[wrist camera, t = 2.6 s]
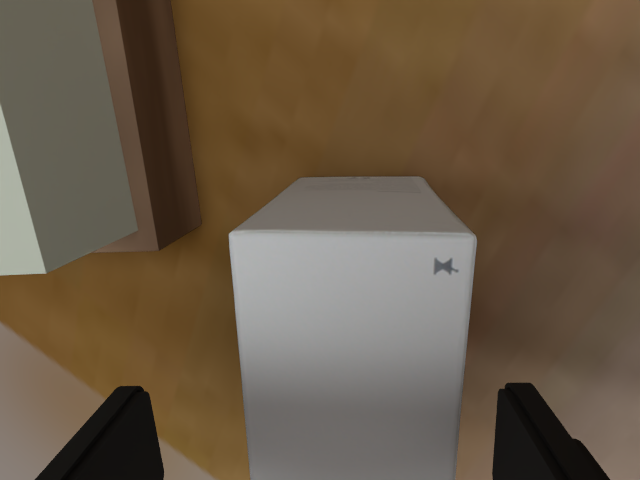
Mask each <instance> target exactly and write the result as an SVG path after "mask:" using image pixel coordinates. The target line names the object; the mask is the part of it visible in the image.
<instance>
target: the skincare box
mask: <svg viewBox="0 0 640 480" xmlns="http://www.w3.org/2000/svg"><path fill="white" fill-rule="evenodd" d="M476 246H477V239H476V235H475V234H474V233H473V232H472V231H471V230H470V229H469V228H468V227H467V226H466V225H465V224H464V223H463V222H462V221H461V220H460V219H459V218H458V217H457V216H456V215H455V214H454V213H453V212H452V211H451V210H450V209H449V208H448V207H447V206H446V204H445V203H444V202H443V201H442V200H441V199H440V198H439V197H438V196H437V195H436V194H435V192H434V191H433V190H432V189H431V187H430V186H429V185H428V184H427V182H426V181H425V179H424V178H422V177H418V176H415V177H305V178H299V179H297V180H296V181H295V182H294V183H293V184H291V185H290V186H289V187H288V188H286V189H285V190H284V191H283V192H281V193H280V194H279V195H278V196H276V197H275V198H274V199H273V200H272V201H270V202H269V203H268V204H267V205H265V206H264V207H263V208H262V209H260V210H259V211H258V212H256V213H255V214H254V215H252V216H251V217H250V218H249V219H247V220H246V221H245V222H243V223H242V224H241V225H240V226H238V227H237V228H235V229H234V230H233V231H232V232H230V233H229V247H230V258H231V268H232V279H233V290H234V301H235V313H236V323H237V335H238V346H239V356H240V366H241V377H242V390H243V402H244V413H245V423H246V434H247V446H248V457H249V468H250V478H251V480H455V476H456V463H457V451H458V438H459V425H460V414H461V403H462V392H463V381H464V370H465V359H466V349H467V338H468V328H469V318H470V307H471V297H472V286H473V276H474V265H475V256H476Z"/></svg>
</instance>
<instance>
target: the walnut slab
mask: <svg viewBox="0 0 640 480" xmlns="http://www.w3.org/2000/svg"><path fill="white" fill-rule="evenodd" d="M92 2H93V7H94V12H95V17H96V22H97V27H98V32H99V37H100V42H101V47H102V52H103V57H104V62H105V67H106V72H107V77H108V82H109V87H110V92H111V97H112V102H113V107H114V112H115V117H116V122H117V127H118V132H119V137H120V142H121V147H122V152H123V157H124V162H125V167H126V172H127V177H128V182H129V187H130V192H131V197H132V202H133V207H134V212H135V217H136V222H137V227H138V231H136V232H134V233H132V234H129V235H127V236H125V237H123V238H121V239H119V240H117V241H114V242H112V243H110V244H108V245H106V246H104V247H102V248H99V249H97V250H95V251H93V252H91V253H98V252H134V251H159V250H161V249H163V248H164V247H166V246H167V245H169V244H171V243H172V242H174V241H176V240H177V239H179V238H180V237H182V236H184V235H185V234H187V233H189V232H190V231H192V230H193V229H195V228H197V227H198V226H200V225H201V224H202V223H201V215H200V208H199V201H198V194H197V187H196V180H195V173H194V165H193V158H192V151H191V144H190V137H189V130H188V123H187V115H186V108H185V101H184V94H183V87H182V80H181V72H180V65H179V58H178V51H177V44H176V37H175V30H174V22H173V15H172V8H171V1H170V0H92Z"/></svg>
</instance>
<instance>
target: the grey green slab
mask: <svg viewBox="0 0 640 480" xmlns="http://www.w3.org/2000/svg"><path fill="white" fill-rule="evenodd" d="M136 231H138V227H137V222H136V217H135V212H134V207H133V202H132V197H131V192H130V187H129V182H128V177H127V172H126V167H125V162H124V157H123V152H122V147H121V142H120V137H119V132H118V127H117V122H116V117H115V112H114V107H113V102H112V97H111V92H110V87H109V82H108V77H107V72H106V67H105V62H104V57H103V52H102V47H101V42H100V37H99V32H98V27H97V22H96V17H95V12H94V7H93V2H92V0H0V275H18V274H43V273H48V272H50V271H52V270H55V269H57V268H59V267H61V266H63V265H65V264H67V263H69V262H72V261H74V260H76V259H78V258H80V257H82V256H84V255H87V254H89V253H91V252H93V251H95V250H97V249H99V248H102V247H104V246H106V245H108V244H110V243H112V242H114V241H117V240H119V239H121V238H123V237H125V236H127V235H129V234H132V233H134V232H136Z"/></svg>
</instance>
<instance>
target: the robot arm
mask: <svg viewBox="0 0 640 480" xmlns="http://www.w3.org/2000/svg"><path fill="white" fill-rule="evenodd" d="M492 475H493V480H610V479H609V477H608V476H607V475H606V473H605V472H604V471H603V469H602V468H601V467H600V465H599V464H598V463H597V462H596V460H595V459H594V458H593V456H592V455H591V454H590V452H589V451H588V450H587V448H586V447H585V446H584V445H583V444H582V443H581V441H579V440H577V439H572V438H571V436H570V435H569V434H568V432H567V431H566V429H565V428H564V427H563V425H562V424H561V423H560V421H559V420H558V418H557V417H556V416H555V414H554V413H553V412H552V410H551V409H550V407H549V406H548V405H547V403H546V402H545V401H544V399H543V398H542V396H541V395H540V394H539V392H538V391H537V390H536V388H535V387H534V386H533V385H532V384H531V383H507V384H506V385H505V389H499V391H498V400H497V415H496V429H495V443H494V458H493V472H492ZM163 478H164V468H163V463H162V458H161V453H160V447H159V442H158V437H157V432H156V426H155V421H154V416H153V411H152V405H151V400H150V396H149V393H148V392H146V391H145V392H144V389H143V388H142V387H141V386H120V387H118V388H116V389H115V390H114V391H113V393H112V394H111V395H110V396H109V397H108V398H107V399H106V400H105V402H104V403H103V404H102V405H101V406H100V407H99V408H98V410H97V411H96V412H95V413H94V414H93V415H92V416H91V417H90V418H89V420H88V421H87V422H86V423H85V424H84V425H83V426H82V427H81V428H80V430H79V431H78V432H77V433H76V434H75V435H74V436H73V437H72V439H71V440H70V441H69V442H68V443H67V444H66V445H65V446H64V448H63V449H62V450H61V451H60V452H59V453H58V454H57V455H56V456H55V458H54V459H53V460H52V461H51V462H50V463H49V465H48V466H47V467H46V468H45V469H44V470H43V471H42V472H41V473H40V474H39V476H38V477H37V478H36V479H35V480H163Z"/></svg>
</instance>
